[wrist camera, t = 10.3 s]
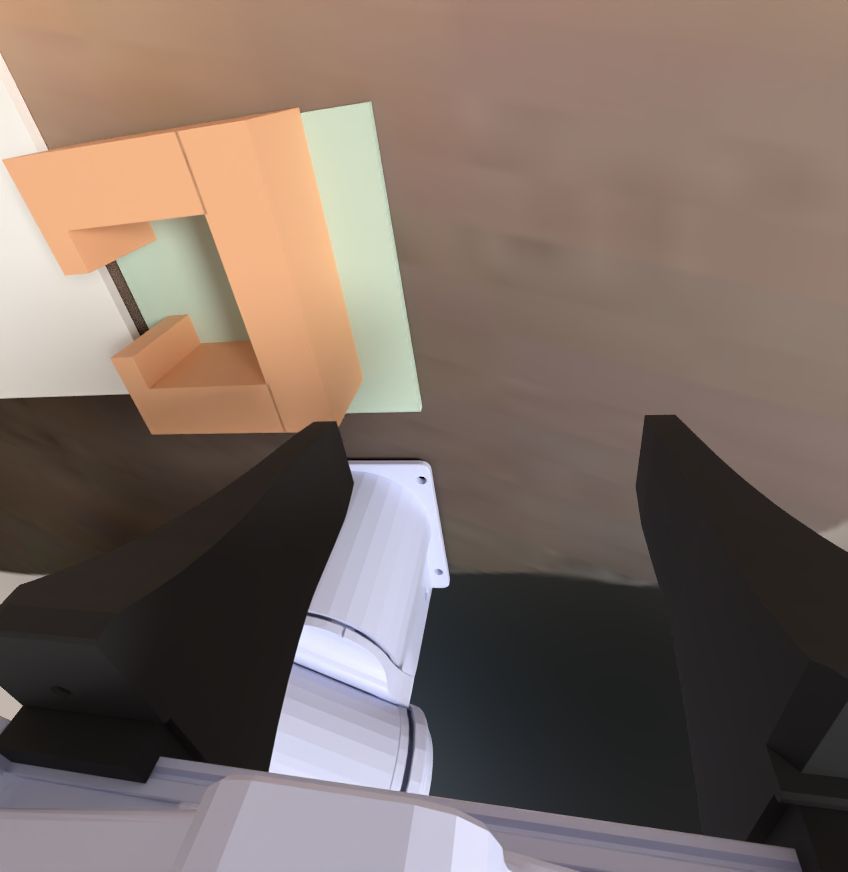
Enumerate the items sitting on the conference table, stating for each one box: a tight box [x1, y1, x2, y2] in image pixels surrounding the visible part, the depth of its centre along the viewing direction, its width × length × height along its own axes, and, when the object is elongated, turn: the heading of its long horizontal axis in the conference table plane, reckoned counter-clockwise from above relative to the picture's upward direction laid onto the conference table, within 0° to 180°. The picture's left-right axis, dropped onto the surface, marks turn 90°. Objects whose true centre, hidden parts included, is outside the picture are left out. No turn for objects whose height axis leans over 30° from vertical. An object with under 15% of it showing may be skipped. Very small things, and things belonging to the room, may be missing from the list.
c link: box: [2, 107, 363, 434], centre depth 19 cm, size 8×10×4 cm
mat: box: [116, 101, 422, 413], centre depth 22 cm, size 12×12×1 cm
